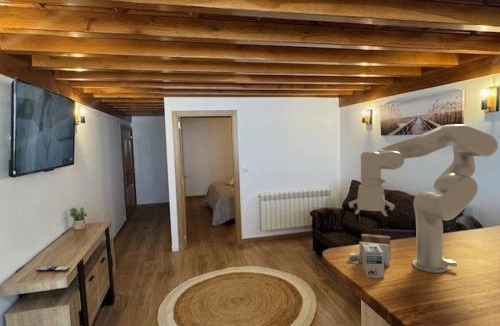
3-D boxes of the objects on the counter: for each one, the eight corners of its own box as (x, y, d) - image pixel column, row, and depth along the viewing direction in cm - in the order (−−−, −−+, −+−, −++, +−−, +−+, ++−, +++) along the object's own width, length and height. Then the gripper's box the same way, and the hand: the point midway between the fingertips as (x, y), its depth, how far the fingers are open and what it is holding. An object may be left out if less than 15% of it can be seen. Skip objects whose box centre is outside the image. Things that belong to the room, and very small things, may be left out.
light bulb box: (384, 278, 118) (384, 252, 117) (366, 278, 119) (365, 251, 118) (378, 267, 128) (378, 242, 127) (362, 266, 130) (361, 242, 129)
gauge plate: (389, 265, 129) (389, 244, 128) (389, 266, 128) (389, 245, 127) (349, 259, 137) (349, 240, 136) (349, 260, 135) (348, 241, 135)
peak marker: (356, 258, 136) (356, 257, 136) (356, 259, 135) (356, 257, 135) (351, 258, 137) (351, 256, 137) (350, 258, 136) (350, 257, 136)
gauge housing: (390, 257, 138) (390, 236, 137) (389, 268, 127) (389, 245, 126) (351, 253, 145) (351, 232, 144) (347, 262, 134) (347, 240, 134)
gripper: (394, 181, 120) (394, 223, 122) (349, 180, 128) (350, 220, 129) (394, 184, 114) (394, 228, 115) (346, 183, 122) (347, 224, 123)
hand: (371, 224), depth 122 cm, fingers open, 9 cm apart
